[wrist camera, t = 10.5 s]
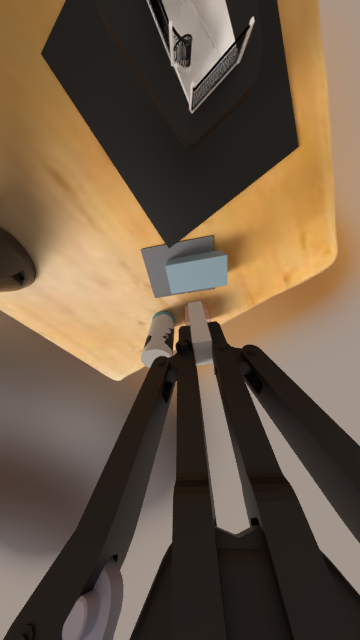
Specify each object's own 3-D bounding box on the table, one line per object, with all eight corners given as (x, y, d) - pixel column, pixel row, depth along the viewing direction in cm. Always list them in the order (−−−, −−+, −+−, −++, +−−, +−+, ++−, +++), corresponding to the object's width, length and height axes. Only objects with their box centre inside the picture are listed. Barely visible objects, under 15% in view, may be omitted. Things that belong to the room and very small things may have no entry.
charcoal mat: (155, 297, 39) (155, 297, 38) (141, 249, 32) (140, 249, 32) (214, 288, 37) (214, 288, 37) (212, 235, 30) (213, 235, 30)
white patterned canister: (150, 326, 44) (139, 366, 32) (155, 308, 41) (143, 346, 28) (171, 331, 45) (168, 372, 33) (177, 314, 42) (175, 353, 29)
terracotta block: (187, 322, 43) (188, 340, 37) (184, 305, 40) (185, 322, 34) (207, 320, 43) (211, 337, 36) (205, 302, 39) (210, 318, 33)
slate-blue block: (220, 276, 35) (172, 284, 36) (220, 249, 31) (167, 259, 33) (227, 285, 30) (171, 294, 31) (227, 254, 26) (165, 266, 28)
